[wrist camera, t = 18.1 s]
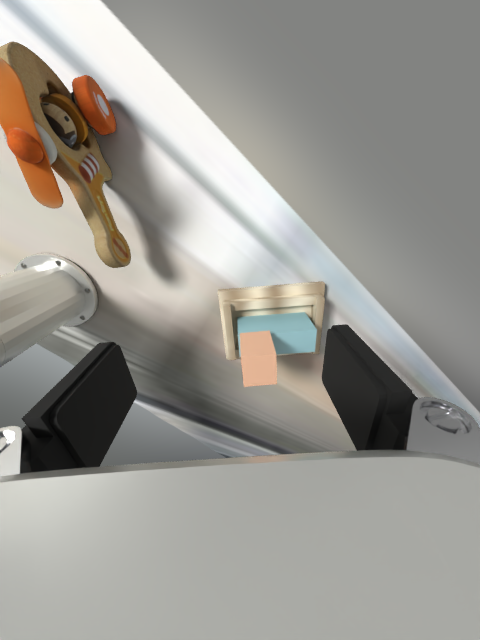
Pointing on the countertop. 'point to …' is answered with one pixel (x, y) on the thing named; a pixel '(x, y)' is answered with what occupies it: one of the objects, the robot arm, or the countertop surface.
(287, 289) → the jig
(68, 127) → the toy helicopter
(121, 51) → the countertop surface
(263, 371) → the peach brick
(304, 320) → the light blue block
